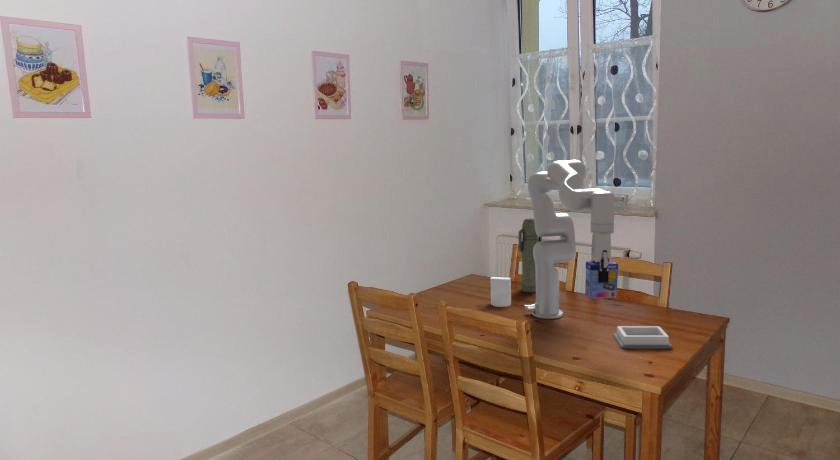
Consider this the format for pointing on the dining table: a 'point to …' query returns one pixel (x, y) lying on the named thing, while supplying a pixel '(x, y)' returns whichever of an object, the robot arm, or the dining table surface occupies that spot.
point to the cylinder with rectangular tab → (500, 291)
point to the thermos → (528, 254)
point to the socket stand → (642, 337)
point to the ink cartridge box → (601, 289)
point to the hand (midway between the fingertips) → (601, 279)
